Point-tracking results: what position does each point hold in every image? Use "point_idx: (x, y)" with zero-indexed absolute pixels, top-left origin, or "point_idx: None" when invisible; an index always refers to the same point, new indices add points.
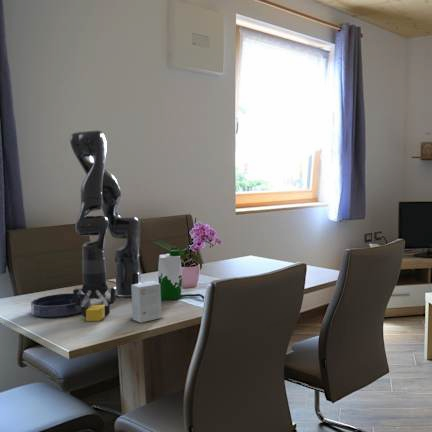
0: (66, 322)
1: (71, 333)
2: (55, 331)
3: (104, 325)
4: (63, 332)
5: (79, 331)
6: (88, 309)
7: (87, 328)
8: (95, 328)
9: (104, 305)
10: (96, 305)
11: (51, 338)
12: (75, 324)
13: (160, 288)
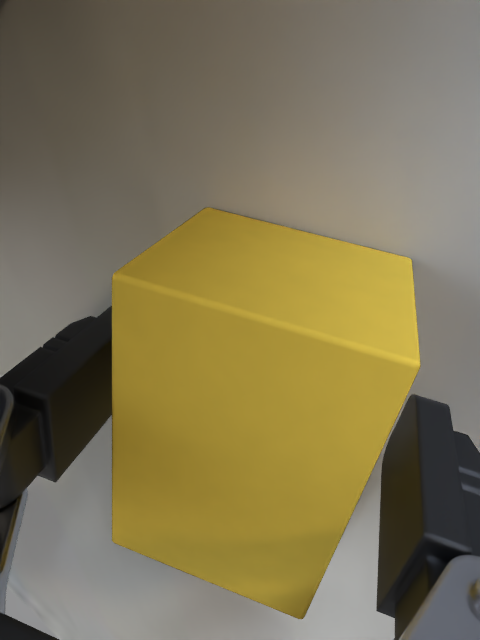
0: (2, 365)
1: (138, 623)
2: (25, 538)
3: (360, 617)
4: (83, 581)
5: (179, 621)
6: (130, 519)
7: (224, 601)
8: (285, 633)
9: (399, 410)
10: (218, 342)
11: (58, 627)
12: (104, 463)
13: None
